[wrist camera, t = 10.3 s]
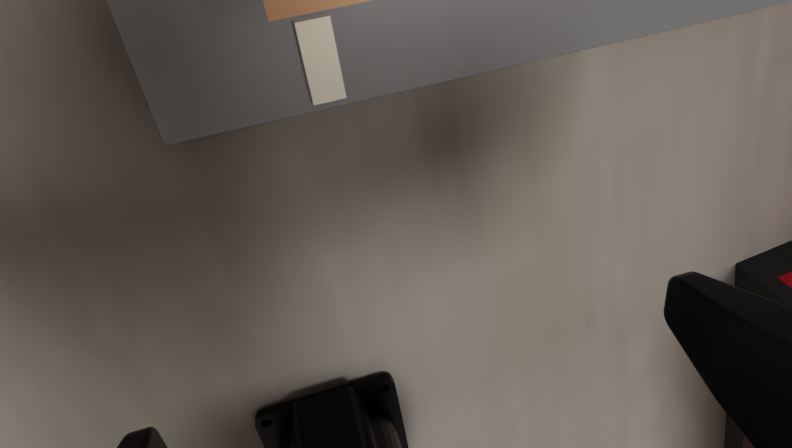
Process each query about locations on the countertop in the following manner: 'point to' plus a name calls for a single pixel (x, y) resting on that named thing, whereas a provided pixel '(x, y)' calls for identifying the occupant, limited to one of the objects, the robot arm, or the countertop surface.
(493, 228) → the countertop surface
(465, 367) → the countertop surface
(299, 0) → the tan rectangular block
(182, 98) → the console
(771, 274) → the cleaning product box
